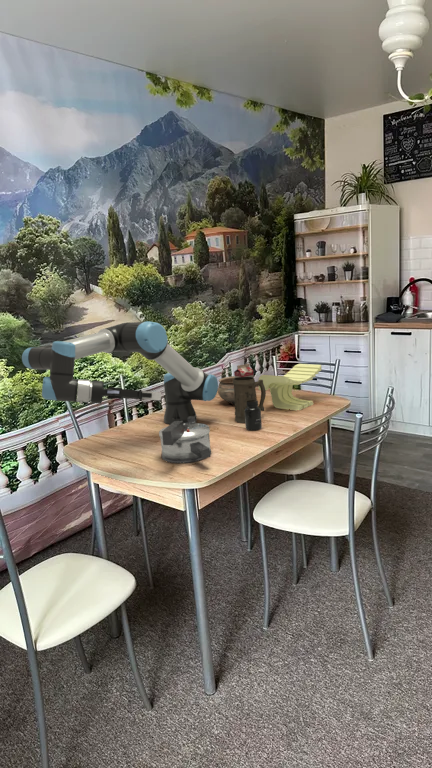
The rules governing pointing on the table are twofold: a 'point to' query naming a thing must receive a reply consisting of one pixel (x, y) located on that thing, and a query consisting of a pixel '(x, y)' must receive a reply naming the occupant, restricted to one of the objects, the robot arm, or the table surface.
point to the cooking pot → (226, 389)
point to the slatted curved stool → (290, 386)
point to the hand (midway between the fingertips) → (160, 396)
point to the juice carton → (243, 371)
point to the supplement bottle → (253, 416)
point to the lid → (183, 431)
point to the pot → (187, 450)
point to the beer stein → (246, 395)
